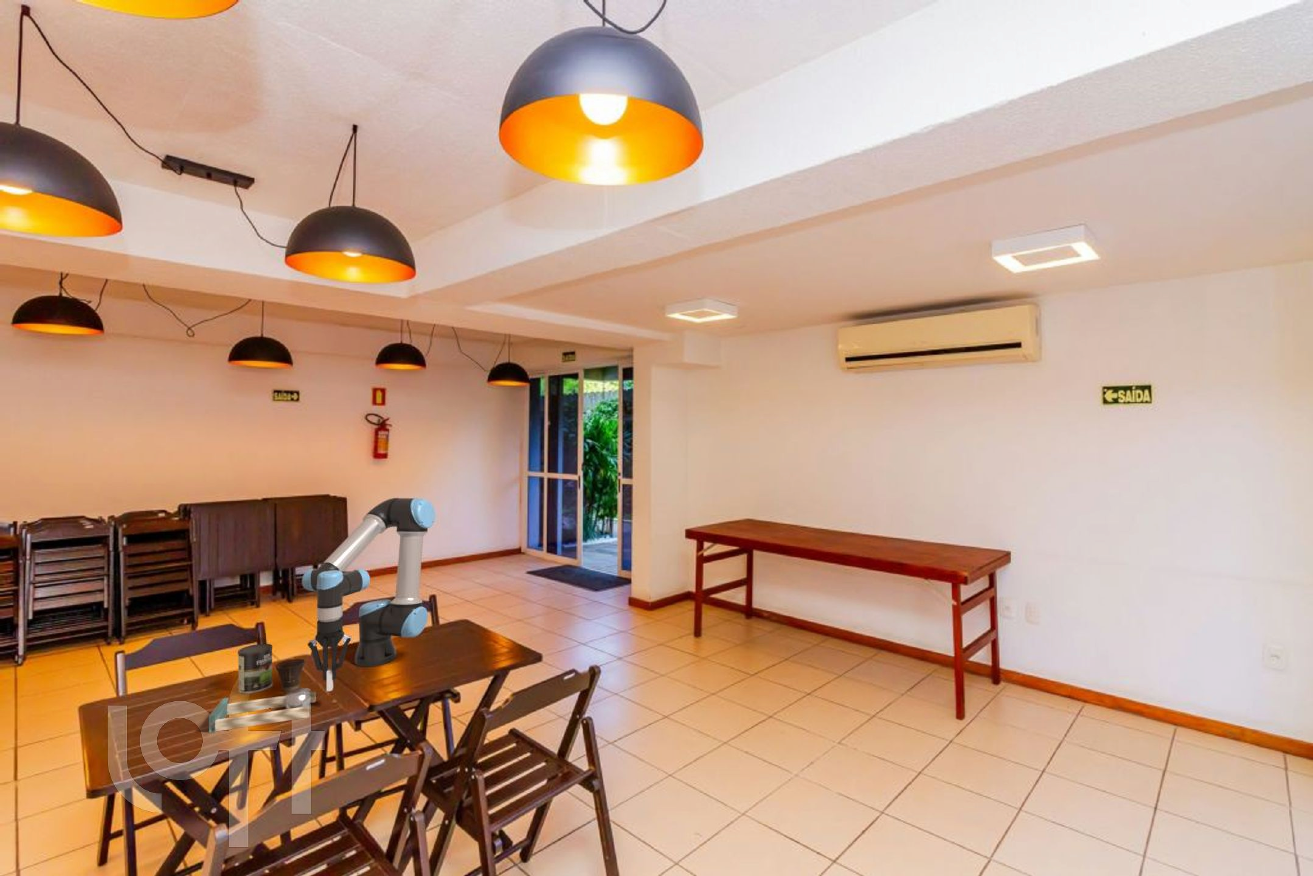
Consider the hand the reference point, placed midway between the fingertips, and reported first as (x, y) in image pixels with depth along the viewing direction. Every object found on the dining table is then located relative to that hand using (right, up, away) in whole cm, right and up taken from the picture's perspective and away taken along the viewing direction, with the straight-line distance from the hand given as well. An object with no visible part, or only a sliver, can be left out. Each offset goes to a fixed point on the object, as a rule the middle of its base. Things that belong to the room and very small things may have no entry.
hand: (329, 689), depth 199 cm
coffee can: (-35, -6, +15) cm, 38 cm away
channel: (-17, -6, -6) cm, 19 cm away
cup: (-21, -6, +14) cm, 26 cm away
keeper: (-9, -6, -3) cm, 11 cm away
